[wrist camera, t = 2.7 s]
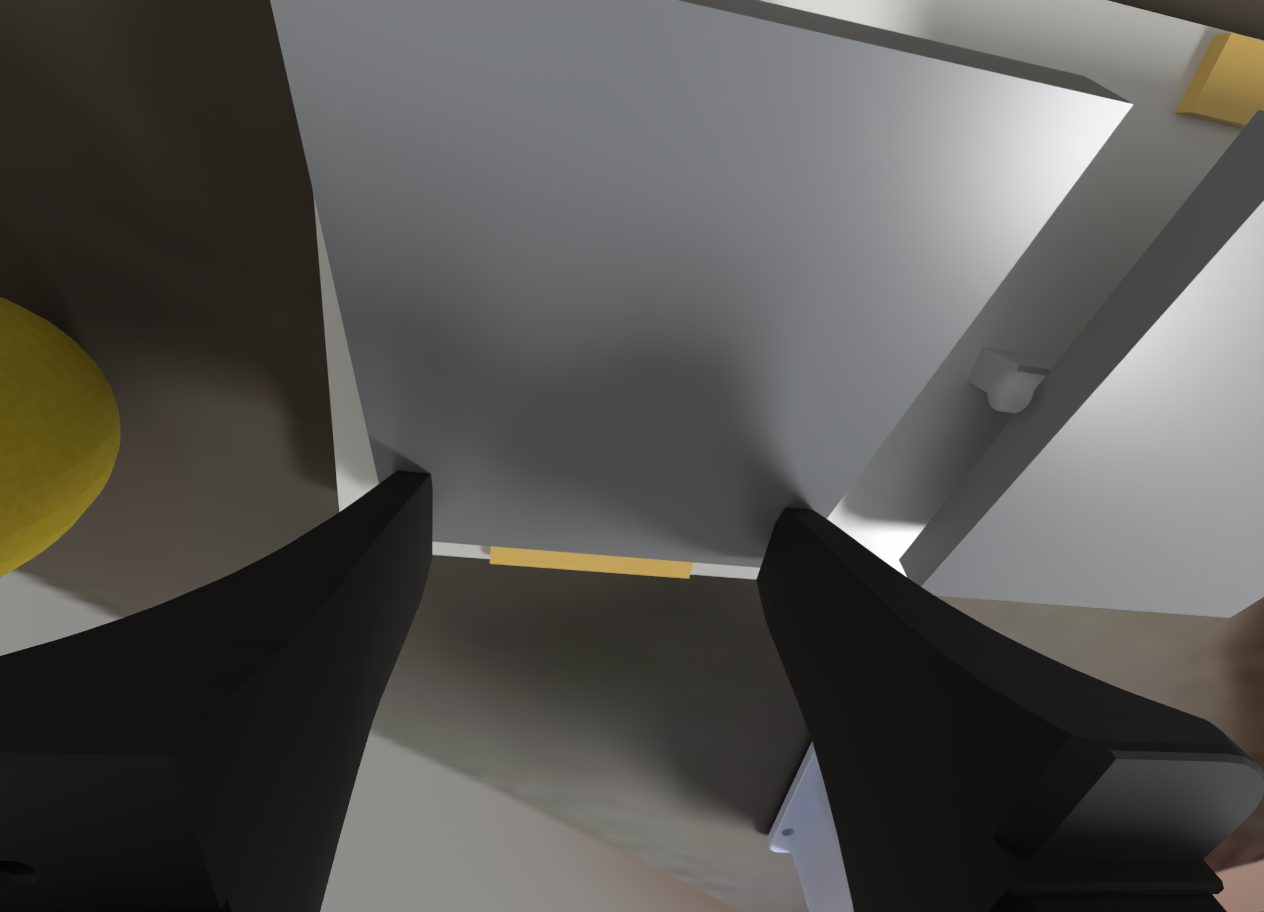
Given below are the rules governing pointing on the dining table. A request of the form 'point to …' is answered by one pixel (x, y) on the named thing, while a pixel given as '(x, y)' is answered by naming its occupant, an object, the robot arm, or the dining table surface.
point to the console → (1028, 296)
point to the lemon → (48, 434)
